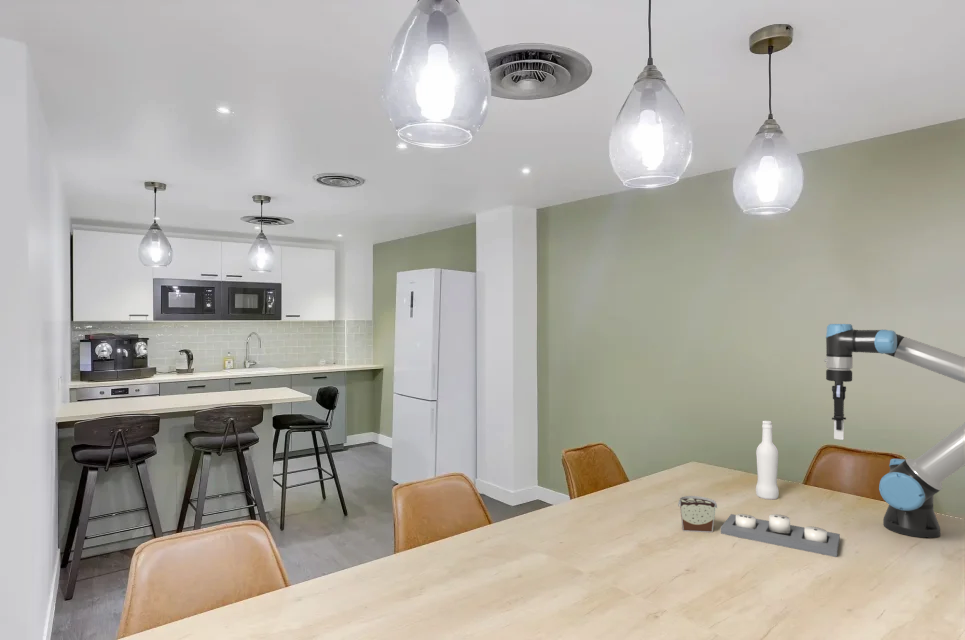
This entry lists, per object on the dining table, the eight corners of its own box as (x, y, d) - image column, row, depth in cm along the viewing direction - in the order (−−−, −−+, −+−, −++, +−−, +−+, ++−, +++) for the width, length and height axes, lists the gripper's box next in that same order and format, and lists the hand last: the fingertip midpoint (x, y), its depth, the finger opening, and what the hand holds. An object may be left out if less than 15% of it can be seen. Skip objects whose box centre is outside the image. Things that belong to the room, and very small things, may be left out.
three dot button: (757, 528, 188) (757, 515, 189) (753, 533, 184) (753, 520, 184) (737, 524, 192) (737, 512, 192) (733, 529, 187) (733, 517, 187)
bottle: (782, 500, 221) (782, 422, 221) (761, 499, 221) (761, 422, 221) (772, 494, 229) (772, 419, 229) (752, 493, 229) (752, 419, 229)
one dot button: (827, 542, 177) (827, 528, 177) (826, 548, 172) (826, 534, 172) (805, 537, 181) (805, 524, 181) (803, 543, 176) (803, 530, 176)
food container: (711, 525, 192) (711, 496, 192) (717, 532, 185) (717, 501, 186) (673, 524, 193) (674, 494, 193) (678, 530, 187) (678, 500, 187)
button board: (839, 540, 179) (839, 533, 180) (836, 557, 166) (836, 550, 166) (731, 519, 198) (731, 514, 198) (720, 533, 185) (720, 527, 185)
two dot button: (791, 529, 183) (791, 516, 183) (788, 534, 178) (788, 521, 178) (770, 525, 186) (770, 512, 186) (767, 530, 181) (767, 517, 181)
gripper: (827, 367, 200) (827, 434, 200) (824, 369, 190) (824, 440, 189) (852, 368, 196) (852, 437, 196) (851, 371, 185) (851, 443, 185)
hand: (838, 438), depth 193 cm, fingers closed
